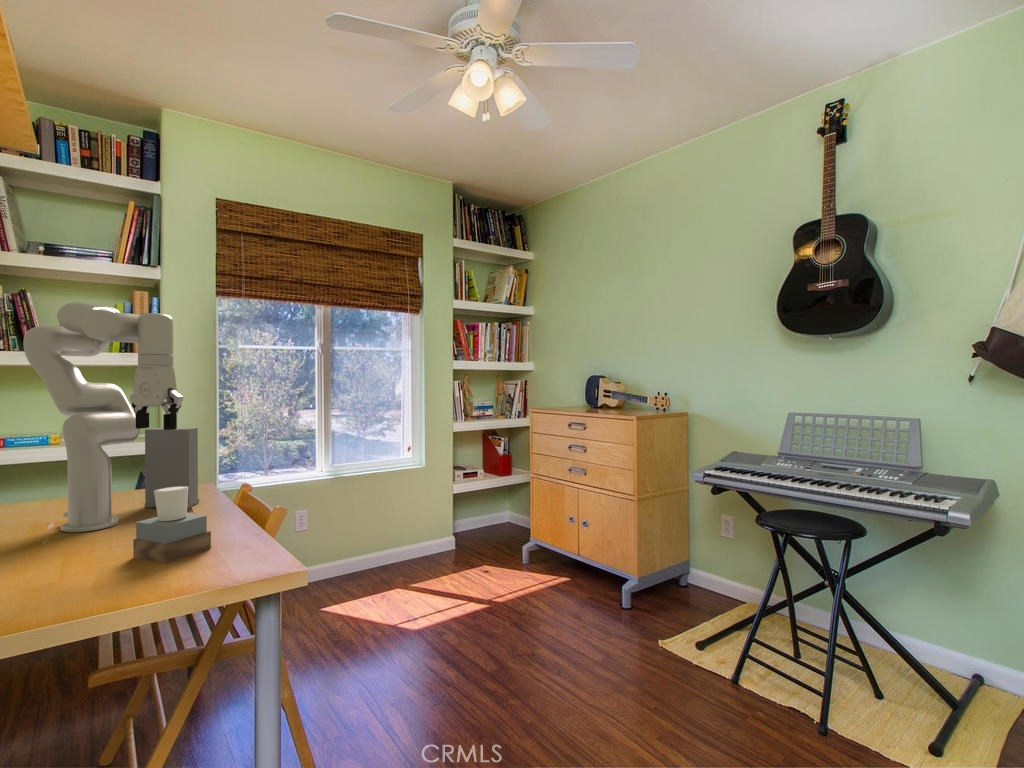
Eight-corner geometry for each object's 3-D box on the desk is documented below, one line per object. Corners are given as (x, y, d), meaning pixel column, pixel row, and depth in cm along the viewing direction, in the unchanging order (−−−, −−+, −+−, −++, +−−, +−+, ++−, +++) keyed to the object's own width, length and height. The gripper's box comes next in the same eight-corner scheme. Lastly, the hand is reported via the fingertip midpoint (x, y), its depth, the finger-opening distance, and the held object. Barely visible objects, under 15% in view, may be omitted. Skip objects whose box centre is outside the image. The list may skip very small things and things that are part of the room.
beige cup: (173, 522, 120) (171, 491, 120) (147, 521, 122) (146, 491, 122) (196, 514, 127) (195, 485, 127) (172, 514, 128) (171, 485, 128)
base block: (133, 559, 121) (133, 539, 121) (178, 544, 131) (178, 526, 131) (167, 564, 117) (167, 544, 117) (210, 549, 128) (210, 531, 128)
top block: (136, 539, 121) (136, 521, 121) (177, 527, 131) (177, 511, 131) (166, 544, 118) (166, 526, 118) (206, 532, 127) (206, 515, 127)
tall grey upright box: (199, 503, 174) (199, 427, 174) (189, 507, 168) (189, 429, 167) (156, 503, 173) (156, 427, 173) (144, 508, 167) (144, 429, 167)
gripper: (116, 361, 134) (117, 429, 134) (166, 361, 128) (167, 431, 129) (145, 362, 141) (146, 426, 141) (194, 362, 135) (194, 428, 136)
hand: (156, 428), depth 135 cm, fingers open, 9 cm apart
